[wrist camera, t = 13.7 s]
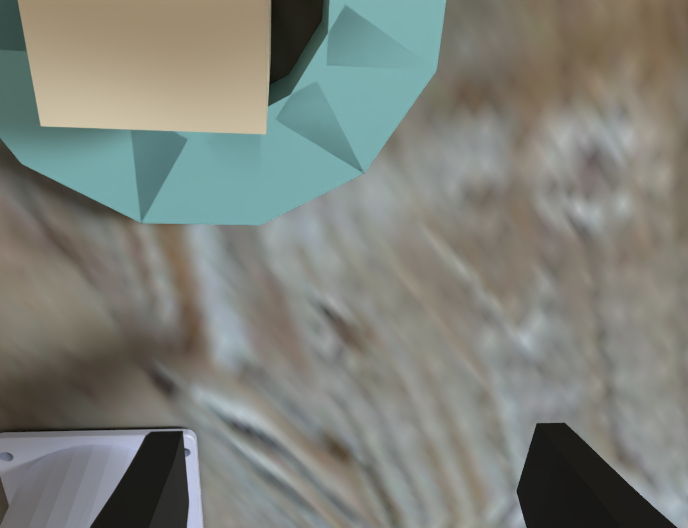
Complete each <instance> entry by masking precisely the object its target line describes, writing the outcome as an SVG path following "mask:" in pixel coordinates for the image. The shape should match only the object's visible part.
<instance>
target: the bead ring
mask: <svg viewBox="0 0 688 528" xmlns="http://www.w3.org/2000/svg"><path fill="white" fill-rule="evenodd" d="M445 5H446V0H323V10H322V20H321V22H320V24H319V25H318V27H317V29H316V30H315V32H314V34H313V35H312V37H311V39H310V40H309V42H308V44H307V45H306V47H305V49H304V50H303V52H302V54H301V55H300V57H299V59H298V60H297V62H296V64H295V65H294V67H293V69H292V70H291V72H290V74H289V75H287V76H285V77H283V78H281V79H279V80H278V81H276V82H274V83H272V84H270V85H269V95H268V112H267V129H266V134H242V133H214V132H186V131H158V130H130V129H102V128H74V127H46V126H41V125H40V119H39V114H38V108H37V103H36V97H35V92H34V86H33V81H32V76H31V70H30V65H29V59H28V54H27V48H26V43H25V37H24V32H23V27H22V21H21V16H20V10H19V5H18V0H0V139H1V140H2V141H3V142H4V143H5V144H6V146H7V147H8V148H9V149H10V150H11V152H12V153H13V154H14V155H15V156H16V158H17V159H18V160H19V161H20V162H21V164H23V165H25V166H27V167H29V168H31V169H33V170H35V171H37V172H39V173H41V174H43V175H45V176H47V177H49V178H51V179H53V180H55V181H57V182H59V183H61V184H63V185H65V186H67V187H69V188H71V189H73V190H75V191H77V192H79V193H81V194H83V195H85V196H88V197H90V198H92V199H94V200H96V201H98V202H100V203H102V204H104V205H106V206H108V207H110V208H112V209H114V210H116V211H118V212H120V213H122V214H124V215H126V216H128V217H130V218H132V219H134V220H136V221H138V222H140V223H166V224H225V225H262V224H264V223H266V222H268V221H270V220H272V219H274V218H276V217H278V216H280V215H282V214H284V213H286V212H288V211H290V210H292V209H294V208H296V207H298V206H300V205H302V204H304V203H306V202H308V201H310V200H312V199H314V198H316V197H318V196H320V195H322V194H324V193H326V192H328V191H330V190H332V189H334V188H336V187H338V186H340V185H342V184H344V183H346V182H348V181H350V180H352V179H354V178H356V177H358V176H360V175H362V174H364V173H365V171H366V170H367V169H368V167H369V166H370V164H371V163H372V161H373V160H374V159H375V157H376V156H377V154H378V153H379V151H380V150H381V149H382V147H383V146H384V144H385V143H386V142H387V140H388V139H389V137H390V136H391V134H392V133H393V132H394V130H395V129H396V127H397V126H398V124H399V123H400V122H401V120H402V119H403V117H404V116H405V114H406V113H407V112H408V110H409V109H410V107H411V106H412V105H413V103H414V102H415V100H416V99H417V97H418V96H419V95H420V93H421V92H422V90H423V89H424V87H425V86H426V85H427V83H428V82H429V80H430V79H431V78H432V76H433V75H434V73H435V72H436V71H437V63H438V56H439V49H440V41H441V34H442V27H443V19H444V12H445Z"/></svg>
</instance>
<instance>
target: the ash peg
mask: <svg viewBox="0 0 688 528" xmlns="http://www.w3.org/2000/svg"><path fill="white" fill-rule="evenodd" d="M18 5H19V10H20V16H21V21H22V27H23V32H24V37H25V43H26V48H27V54H28V59H29V65H30V70H31V76H32V81H33V86H34V92H35V97H36V103H37V108H38V114H39V119H40V125H41V126H46V127H74V128H102V129H130V130H158V131H186V132H214V133H242V134H266V129H267V112H268V95H269V78H270V61H271V0H18Z"/></svg>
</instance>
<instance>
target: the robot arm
mask: <svg viewBox="0 0 688 528" xmlns="http://www.w3.org/2000/svg"><path fill="white" fill-rule="evenodd" d="M185 448H187V449H188V450H185ZM6 452H7V453H6ZM8 453H10V454H8ZM0 478H1V481H2V484H3V488H4V491H5V494H6V497H7V501H8V504H9V507H8V509H7V512H6V514H5V516H4V518H3V520H2V522H1V525H0V528H204V527H203V514H202V501H201V487H200V474H199V461H198V448H197V437H196V434H195V433H194V432H193V431H191V430H189V429H147V430H99V431H50V432H4V433H0ZM517 495H518V498H519V502H520V506H521V509H522V513H523V517H524V520H525V524H526V527H527V528H677V527H676V526H675V525H674V524H672V523H671V522H670V521H669V520H668V519H667V518H666V517H665V516H663V515H662V514H661V513H660V512H659V511H658V510H657V509H655V508H654V507H653V506H652V505H651V504H650V503H649V502H648V501H647V500H646V499H644V498H643V497H642V496H641V495H640V494H639V493H638V492H637V491H636V490H635V489H634V488H633V487H632V486H630V485H629V484H628V483H627V482H626V481H625V480H624V479H623V478H622V477H621V476H620V475H619V474H618V473H617V472H616V471H615V470H614V469H613V468H612V467H610V466H609V465H608V464H607V463H606V462H605V461H604V460H603V459H602V458H601V457H600V456H599V455H598V454H597V453H596V452H595V451H594V450H593V449H592V448H591V447H590V446H589V445H588V444H587V443H586V442H585V441H584V440H582V439H581V438H580V437H579V436H578V435H577V434H576V433H575V432H574V431H573V430H572V429H571V428H570V427H569V426H568V425H567V424H565V423H537V424H536V428H535V431H534V434H533V438H532V441H531V444H530V448H529V451H528V454H527V458H526V461H525V464H524V468H523V471H522V474H521V478H520V481H519V484H518V488H517Z"/></svg>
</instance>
